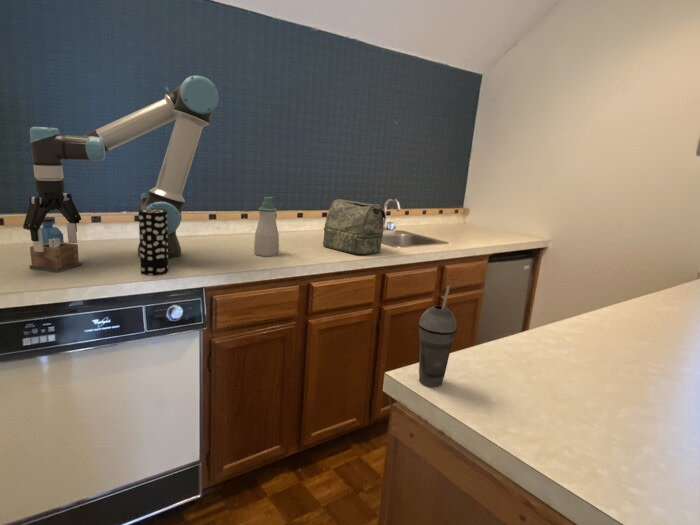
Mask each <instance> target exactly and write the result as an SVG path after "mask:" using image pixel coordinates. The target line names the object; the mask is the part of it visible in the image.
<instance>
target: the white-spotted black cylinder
mask: <svg viewBox="0 0 700 525" xmlns="http://www.w3.org/2000/svg"><path fill="white" fill-rule="evenodd" d="M138 229H139V230H138V233H139V237H138V238H139V243H140V256H139V259H140V262H139V263H140V274H142V275H144V276H152V277H153V276H163V275H165V274H168V273H169V271H170V270H169V258H168V226H167V211H166V210H159V209H144V210H141V209H139V210H138Z"/></svg>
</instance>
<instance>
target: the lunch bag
mask: <svg viewBox="0 0 700 525" xmlns="http://www.w3.org/2000/svg"><path fill="white" fill-rule="evenodd" d="M385 219H387V218H386V213H385V210H384V209H383V208H382V206H381V205H380V204H376V203H365V202H359V201H353V200H348V199H347V200H346V199H342V198H339V199H338V198H337V199H334V201H332V203H331V204H330V207H329V210H328V213H327V216H326V219H325V222H324V227H323V230H324V231H323V241H322V245H323V246H324V247H326V248H329V249H334V250H337V251H341V252H345V253H348V254H354V255H359V256H361V255H362V256H363V255H371V254H379V253H380V252H381V249H382V241H383V235H384V223H385V222H384V220H385Z"/></svg>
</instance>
